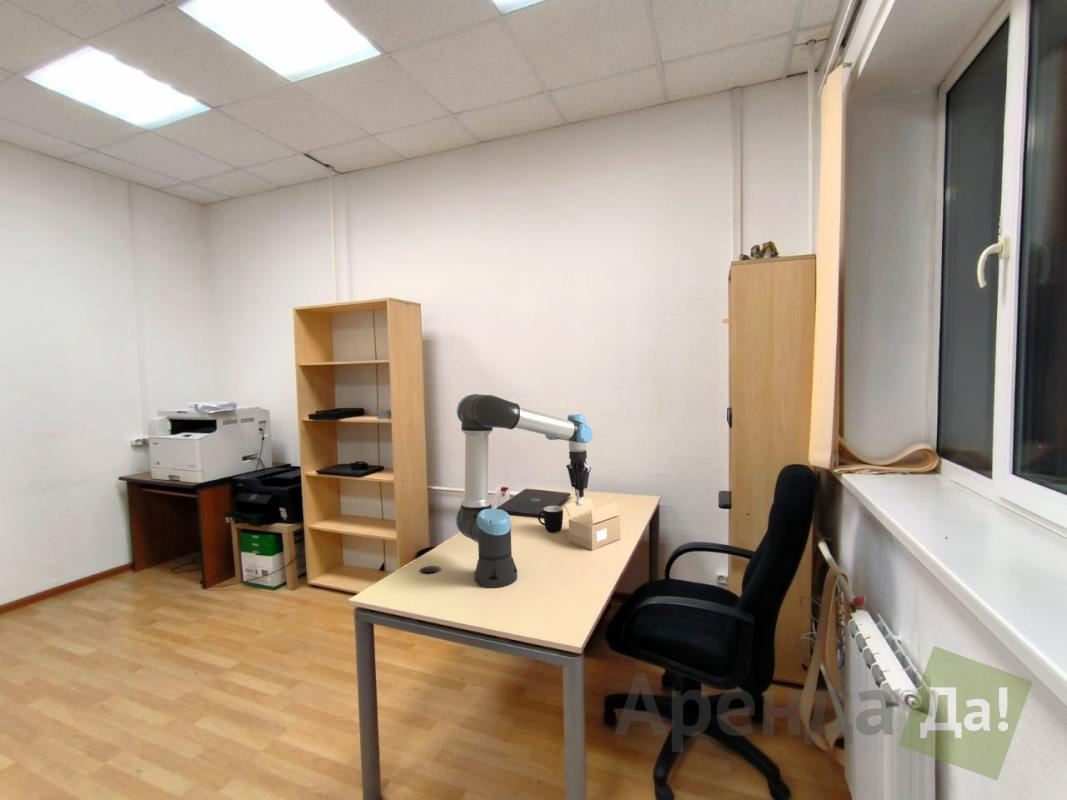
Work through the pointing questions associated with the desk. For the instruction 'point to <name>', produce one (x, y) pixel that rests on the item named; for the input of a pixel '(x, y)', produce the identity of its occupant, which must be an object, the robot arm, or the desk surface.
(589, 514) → the carton
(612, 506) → the right flap
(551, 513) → the mug
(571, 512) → the left flap
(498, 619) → the desk surface
